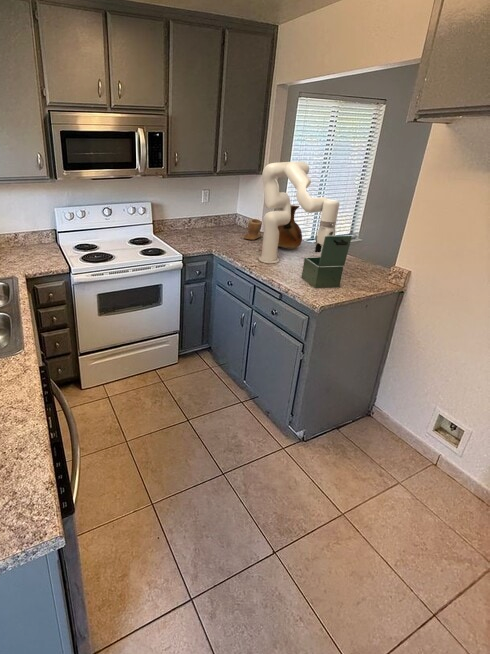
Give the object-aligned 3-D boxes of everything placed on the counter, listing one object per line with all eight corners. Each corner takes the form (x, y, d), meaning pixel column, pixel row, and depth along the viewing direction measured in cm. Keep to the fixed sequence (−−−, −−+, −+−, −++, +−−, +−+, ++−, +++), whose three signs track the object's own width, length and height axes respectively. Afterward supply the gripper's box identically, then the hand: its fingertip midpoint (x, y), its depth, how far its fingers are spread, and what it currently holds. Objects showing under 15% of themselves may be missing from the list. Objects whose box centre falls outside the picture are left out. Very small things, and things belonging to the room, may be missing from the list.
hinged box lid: (325, 236, 176) (330, 240, 171) (351, 235, 177) (357, 239, 172) (318, 266, 183) (323, 270, 178) (343, 265, 184) (349, 269, 180)
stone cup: (255, 242, 266) (257, 222, 260) (241, 239, 273) (243, 219, 268) (264, 237, 276) (267, 218, 271) (251, 235, 284) (252, 216, 278)
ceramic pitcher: (302, 245, 259) (308, 203, 248) (299, 253, 242) (305, 209, 231) (274, 241, 266) (279, 201, 255) (269, 249, 249) (274, 206, 238)
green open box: (301, 277, 202) (304, 257, 197) (324, 276, 203) (327, 256, 199) (315, 288, 187) (318, 267, 183) (339, 287, 189) (343, 266, 184)
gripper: (343, 228, 178) (337, 260, 184) (325, 220, 193) (320, 249, 200) (329, 228, 177) (323, 260, 183) (312, 220, 193) (307, 250, 199)
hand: (322, 255), depth 192 cm, fingers open, 9 cm apart
